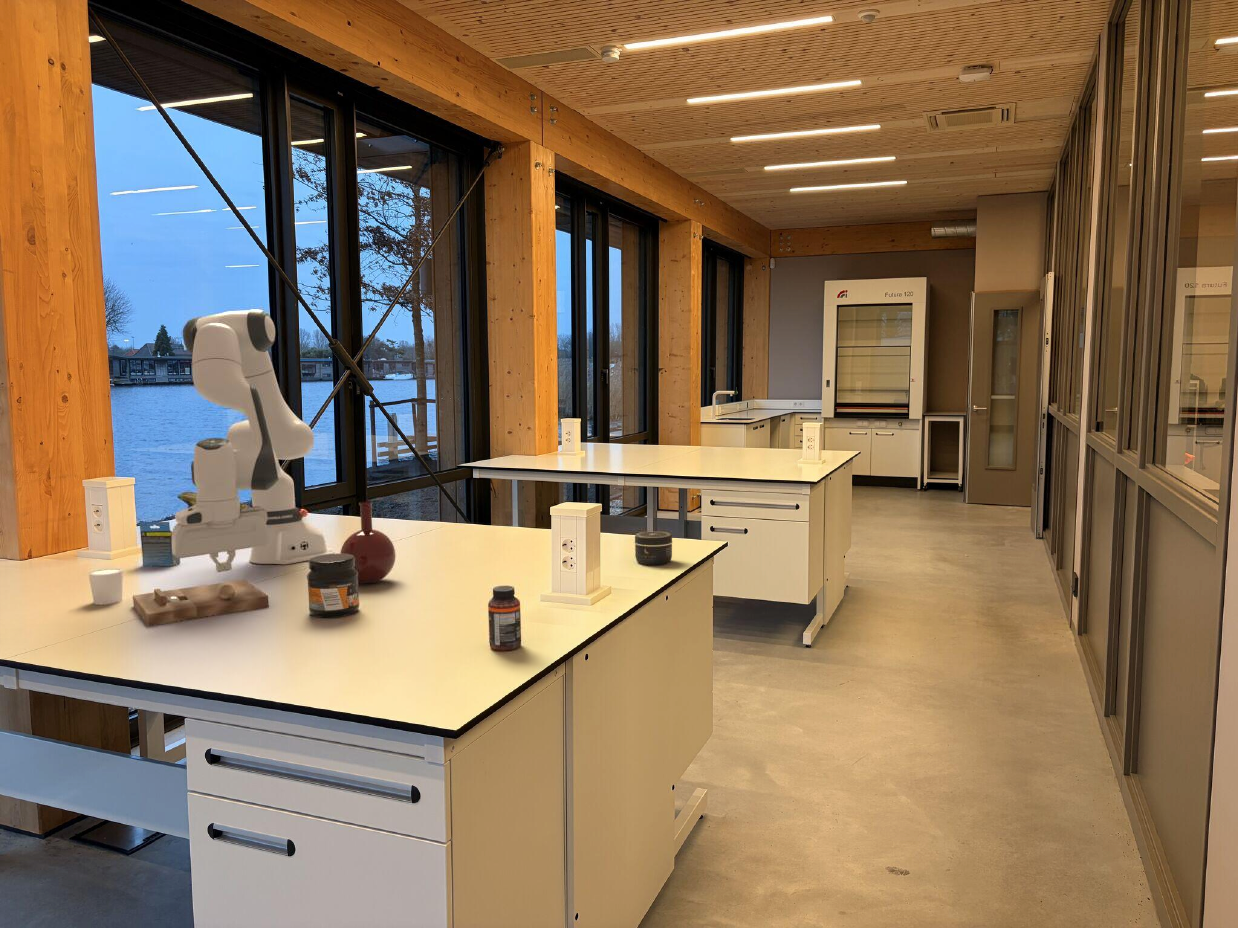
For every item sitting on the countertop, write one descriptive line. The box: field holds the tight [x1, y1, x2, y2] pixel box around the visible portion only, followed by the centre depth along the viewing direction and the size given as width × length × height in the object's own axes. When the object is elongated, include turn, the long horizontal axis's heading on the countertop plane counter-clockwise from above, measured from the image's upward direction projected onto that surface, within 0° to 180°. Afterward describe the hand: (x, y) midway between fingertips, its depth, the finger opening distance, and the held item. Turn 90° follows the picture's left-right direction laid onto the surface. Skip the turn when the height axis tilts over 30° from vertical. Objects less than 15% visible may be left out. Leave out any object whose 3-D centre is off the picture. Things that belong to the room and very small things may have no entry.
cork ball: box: [219, 585, 235, 600], centre depth 196 cm, size 3×3×3 cm
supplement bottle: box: [487, 585, 522, 652], centre depth 167 cm, size 6×6×11 cm
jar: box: [634, 530, 673, 567], centre depth 238 cm, size 10×10×8 cm
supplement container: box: [306, 553, 360, 619], centre depth 193 cm, size 10×10×12 cm
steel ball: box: [166, 596, 180, 603], centre depth 196 cm, size 3×3×3 cm
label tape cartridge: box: [139, 521, 181, 567], centre depth 244 cm, size 9×4×12 cm, turn 84°
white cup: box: [88, 568, 124, 606], centre depth 206 cm, size 7×7×7 cm
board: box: [132, 579, 270, 627], centre depth 200 cm, size 24×20×4 cm
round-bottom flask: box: [339, 500, 397, 584], centre depth 220 cm, size 13×13×20 cm
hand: (224, 570), depth 204 cm, fingers closed
